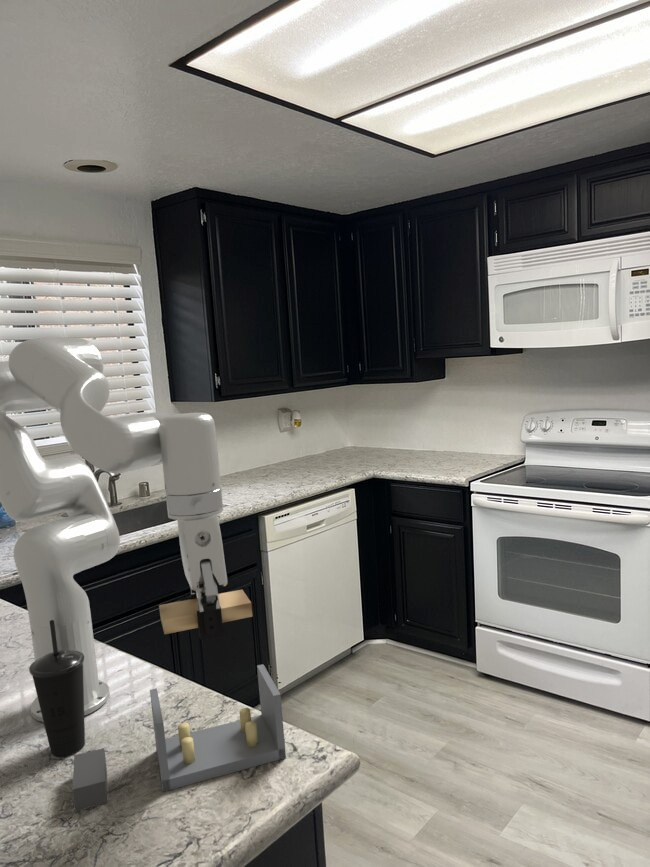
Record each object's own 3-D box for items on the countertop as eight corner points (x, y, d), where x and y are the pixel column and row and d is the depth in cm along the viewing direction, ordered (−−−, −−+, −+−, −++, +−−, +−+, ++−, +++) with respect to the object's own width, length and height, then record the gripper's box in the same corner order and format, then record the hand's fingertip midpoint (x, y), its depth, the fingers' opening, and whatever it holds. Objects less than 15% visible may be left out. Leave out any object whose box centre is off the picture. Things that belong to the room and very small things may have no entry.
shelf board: (243, 602, 96) (242, 589, 96) (252, 616, 90) (251, 602, 90) (160, 618, 92) (159, 605, 92) (164, 634, 87) (162, 620, 86)
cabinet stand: (156, 750, 96) (149, 689, 95) (268, 722, 101) (263, 664, 100) (162, 791, 86) (155, 724, 85) (285, 757, 92) (280, 694, 91)
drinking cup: (40, 742, 100) (24, 617, 98) (92, 727, 103) (78, 607, 101) (40, 769, 93) (22, 636, 91) (96, 753, 96) (80, 623, 94)
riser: (76, 775, 91) (74, 755, 91) (106, 767, 93) (104, 748, 92) (75, 811, 84) (72, 789, 83) (107, 802, 85) (105, 781, 85)
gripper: (234, 511, 83) (247, 646, 85) (211, 489, 99) (223, 603, 101) (174, 520, 80) (188, 659, 82) (161, 496, 96) (173, 612, 99)
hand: (207, 627), depth 92 cm, fingers closed on shelf board, 6 cm apart
